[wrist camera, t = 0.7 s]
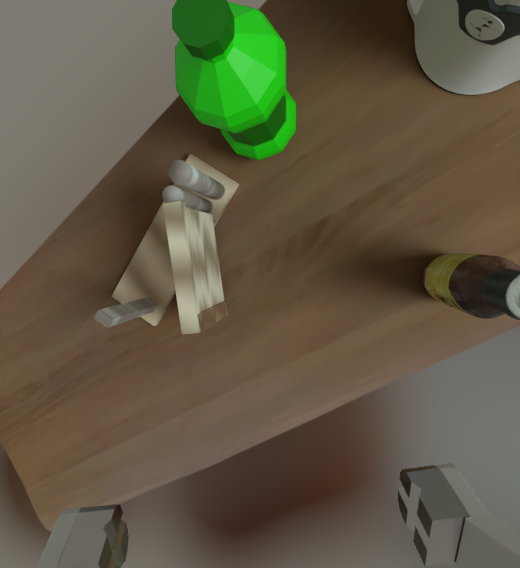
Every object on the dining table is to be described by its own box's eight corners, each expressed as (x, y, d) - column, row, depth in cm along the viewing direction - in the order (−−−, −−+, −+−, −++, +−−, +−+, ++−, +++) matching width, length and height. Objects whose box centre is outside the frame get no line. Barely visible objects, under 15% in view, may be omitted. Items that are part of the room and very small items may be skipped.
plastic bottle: (301, 85, 49) (270, -78, 25) (300, 167, 50) (269, 88, 26) (227, 91, 51) (131, -55, 27) (228, 169, 52) (136, 99, 28)
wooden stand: (192, 155, 53) (143, 122, 39) (239, 184, 52) (205, 161, 38) (115, 295, 57) (46, 310, 43) (157, 325, 56) (100, 349, 43)
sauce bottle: (417, 298, 49) (474, 330, 29) (424, 250, 48) (487, 251, 29) (471, 305, 48) (567, 342, 28) (479, 256, 47) (583, 260, 28)
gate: (197, 200, 52) (160, 186, 40) (211, 198, 51) (177, 183, 40) (214, 316, 53) (182, 334, 41) (227, 314, 52) (199, 332, 41)
